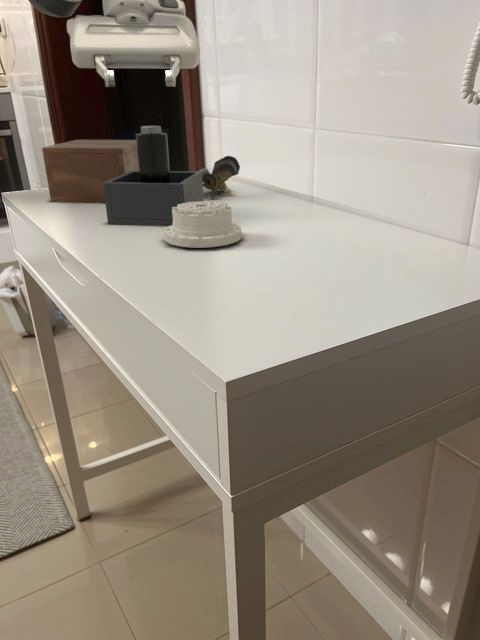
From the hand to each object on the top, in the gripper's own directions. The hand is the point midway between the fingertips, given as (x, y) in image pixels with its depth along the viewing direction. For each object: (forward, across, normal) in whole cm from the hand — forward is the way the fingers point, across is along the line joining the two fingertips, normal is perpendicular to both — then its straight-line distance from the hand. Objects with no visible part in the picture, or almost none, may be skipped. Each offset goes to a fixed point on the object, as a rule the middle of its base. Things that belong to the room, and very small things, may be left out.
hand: (141, 83), depth 88 cm
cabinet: (+7, -8, +19) cm, 22 cm away
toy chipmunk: (+11, +12, +15) cm, 22 cm away
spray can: (+21, 0, +4) cm, 21 cm away
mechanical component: (+33, +5, -7) cm, 34 cm away
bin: (+21, 0, +4) cm, 22 cm away
